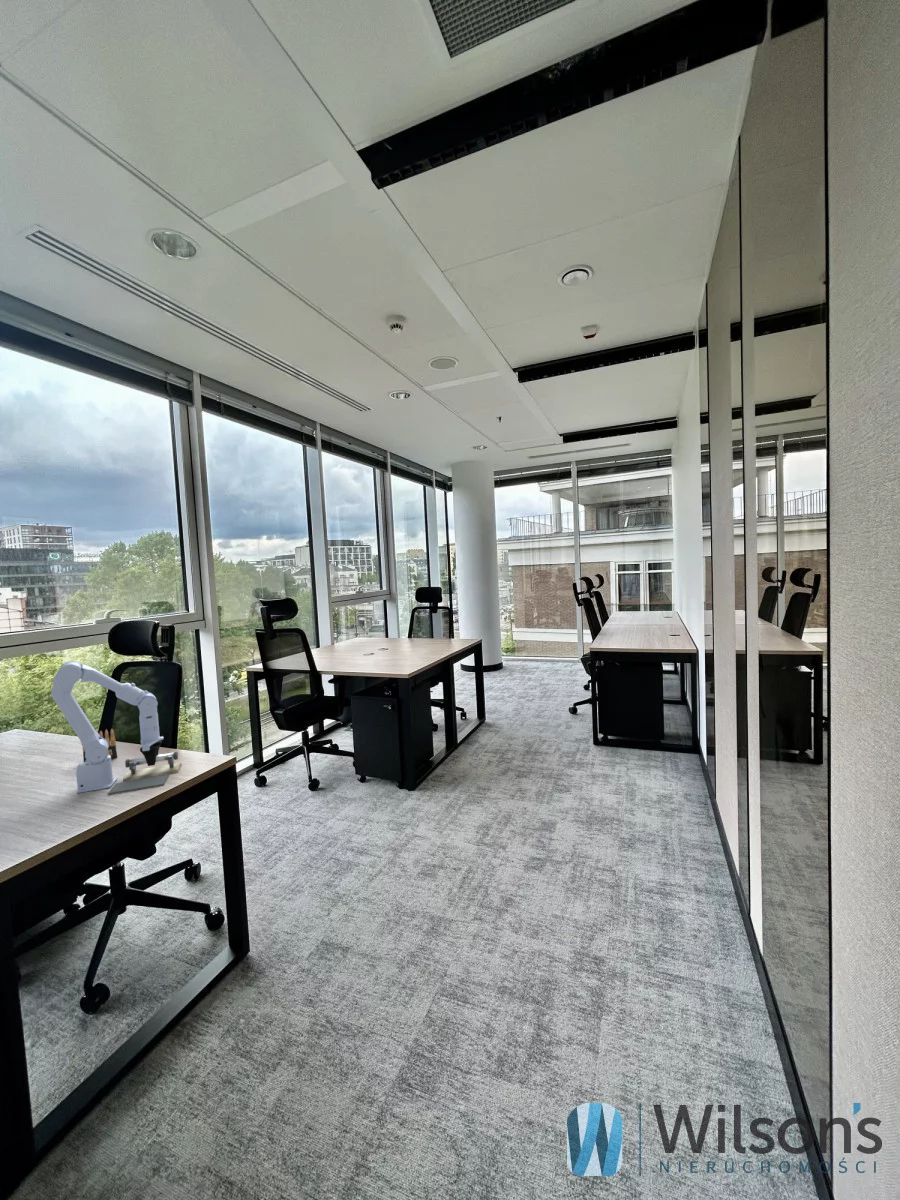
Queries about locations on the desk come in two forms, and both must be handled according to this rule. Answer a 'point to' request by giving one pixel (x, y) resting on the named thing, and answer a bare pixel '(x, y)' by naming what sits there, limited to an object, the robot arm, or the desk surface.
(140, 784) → the rubber mat
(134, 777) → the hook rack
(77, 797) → the desk surface
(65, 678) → the robot arm
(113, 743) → the ammunition clip
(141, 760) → the rail
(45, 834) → the desk surface
